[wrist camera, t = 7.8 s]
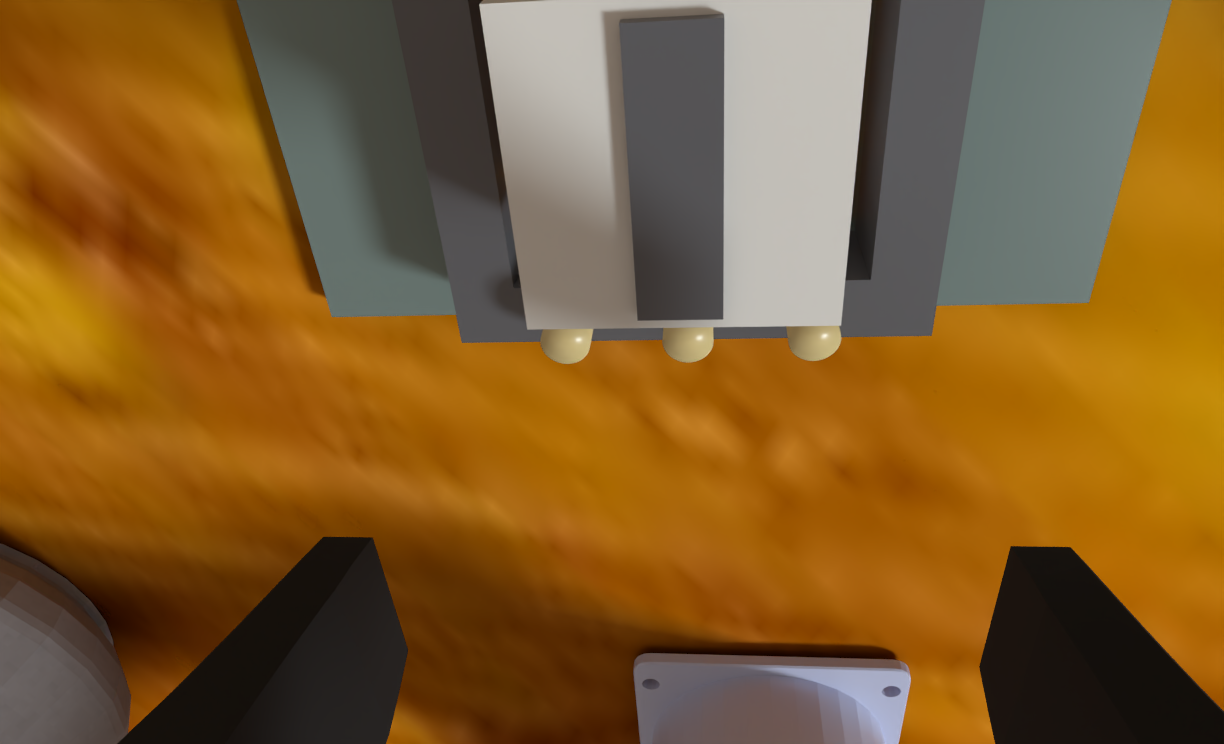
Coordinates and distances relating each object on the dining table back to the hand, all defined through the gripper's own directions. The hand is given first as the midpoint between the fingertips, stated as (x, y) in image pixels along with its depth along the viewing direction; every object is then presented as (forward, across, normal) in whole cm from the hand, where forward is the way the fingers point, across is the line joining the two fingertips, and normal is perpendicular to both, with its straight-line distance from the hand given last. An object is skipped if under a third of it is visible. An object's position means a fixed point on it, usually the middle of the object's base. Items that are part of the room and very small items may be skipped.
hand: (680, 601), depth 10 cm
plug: (+10, 0, -4) cm, 10 cm away
